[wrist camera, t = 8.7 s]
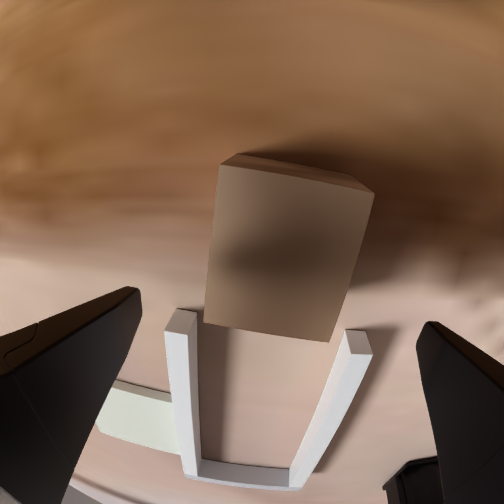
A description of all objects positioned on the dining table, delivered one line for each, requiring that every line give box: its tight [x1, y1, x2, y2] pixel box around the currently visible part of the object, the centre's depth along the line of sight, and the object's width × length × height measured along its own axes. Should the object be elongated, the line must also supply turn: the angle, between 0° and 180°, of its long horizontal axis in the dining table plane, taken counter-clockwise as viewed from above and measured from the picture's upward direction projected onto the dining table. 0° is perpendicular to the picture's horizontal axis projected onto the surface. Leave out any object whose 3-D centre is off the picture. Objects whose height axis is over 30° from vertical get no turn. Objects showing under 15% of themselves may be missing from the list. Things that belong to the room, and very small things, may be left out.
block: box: [203, 154, 375, 343], centre depth 12 cm, size 5×6×4 cm
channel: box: [164, 309, 373, 491], centre depth 19 cm, size 10×18×2 cm, turn 174°
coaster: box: [95, 380, 180, 455], centre depth 21 cm, size 8×8×1 cm
